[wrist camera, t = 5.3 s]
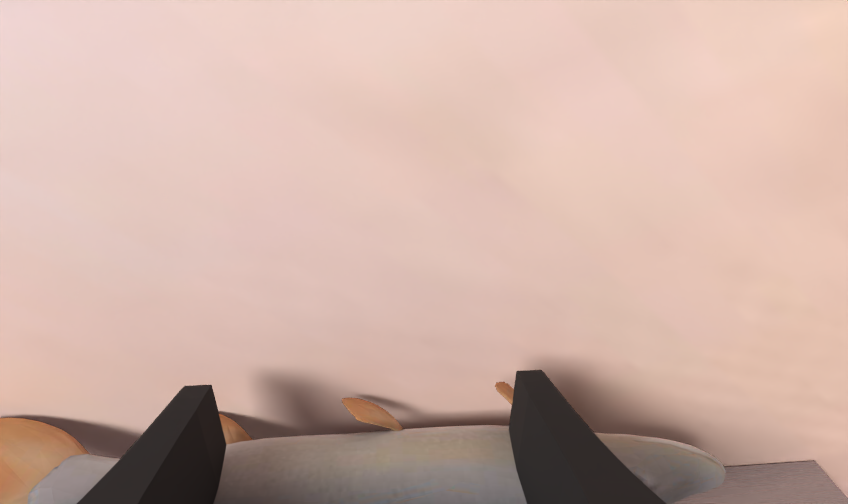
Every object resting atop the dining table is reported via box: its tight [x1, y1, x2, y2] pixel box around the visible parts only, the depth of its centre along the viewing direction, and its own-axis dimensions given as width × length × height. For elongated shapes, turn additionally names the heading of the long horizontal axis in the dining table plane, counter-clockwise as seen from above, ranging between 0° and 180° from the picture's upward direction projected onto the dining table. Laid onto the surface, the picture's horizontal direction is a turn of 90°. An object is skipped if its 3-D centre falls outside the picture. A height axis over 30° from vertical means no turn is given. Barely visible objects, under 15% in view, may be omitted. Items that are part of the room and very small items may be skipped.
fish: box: [0, 382, 726, 504], centre depth 14 cm, size 4×21×5 cm, turn 85°
